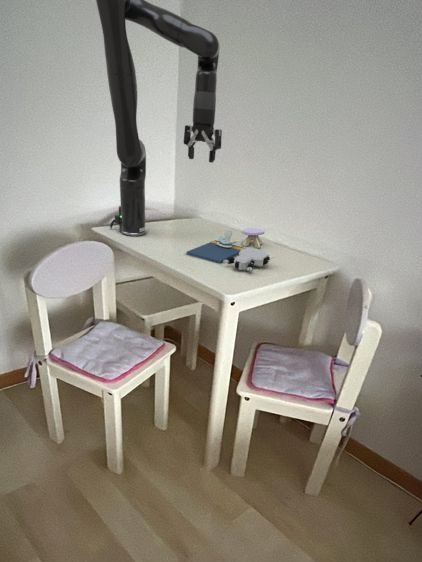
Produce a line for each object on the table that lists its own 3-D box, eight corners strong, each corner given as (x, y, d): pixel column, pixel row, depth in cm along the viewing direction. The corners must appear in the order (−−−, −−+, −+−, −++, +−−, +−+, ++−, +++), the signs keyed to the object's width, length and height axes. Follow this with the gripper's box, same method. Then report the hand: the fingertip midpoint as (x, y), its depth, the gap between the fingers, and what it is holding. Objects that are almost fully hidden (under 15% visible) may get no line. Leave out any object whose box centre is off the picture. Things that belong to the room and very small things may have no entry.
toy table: (245, 249, 162) (247, 233, 159) (235, 242, 169) (237, 227, 166) (268, 248, 165) (270, 233, 162) (257, 241, 172) (259, 226, 169)
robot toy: (250, 279, 138) (274, 265, 147) (252, 266, 135) (276, 253, 145) (220, 269, 144) (245, 256, 153) (220, 256, 141) (246, 244, 151)
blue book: (186, 254, 151) (186, 251, 151) (215, 242, 166) (215, 239, 165) (220, 263, 146) (220, 260, 145) (246, 250, 160) (247, 247, 160)
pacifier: (228, 250, 156) (238, 246, 160) (230, 232, 153) (239, 229, 156) (213, 245, 160) (222, 241, 164) (214, 228, 156) (223, 225, 160)
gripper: (228, 109, 144) (223, 162, 153) (193, 105, 150) (190, 157, 159) (216, 109, 139) (212, 164, 148) (180, 105, 144) (178, 158, 153)
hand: (201, 160), depth 153 cm, fingers open, 8 cm apart
